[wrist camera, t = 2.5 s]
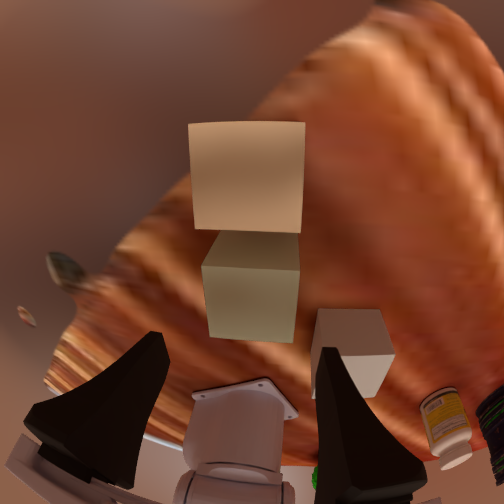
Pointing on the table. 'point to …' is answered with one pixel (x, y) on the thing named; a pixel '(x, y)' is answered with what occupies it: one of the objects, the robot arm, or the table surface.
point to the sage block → (252, 285)
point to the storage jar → (494, 430)
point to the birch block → (247, 175)
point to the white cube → (354, 345)
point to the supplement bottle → (447, 427)
